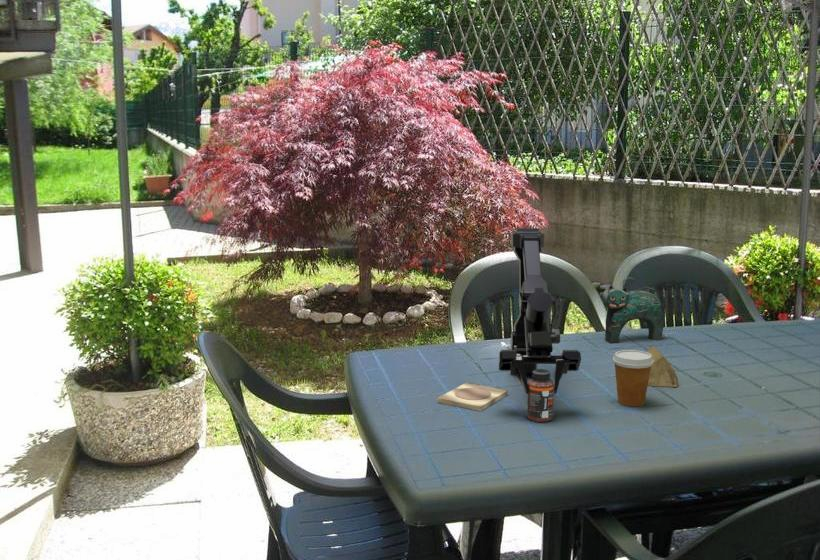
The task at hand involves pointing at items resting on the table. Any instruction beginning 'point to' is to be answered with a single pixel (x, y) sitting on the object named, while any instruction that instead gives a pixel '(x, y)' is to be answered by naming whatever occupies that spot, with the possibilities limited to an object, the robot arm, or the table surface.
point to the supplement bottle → (540, 396)
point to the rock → (661, 370)
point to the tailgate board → (472, 396)
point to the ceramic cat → (632, 311)
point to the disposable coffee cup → (632, 376)
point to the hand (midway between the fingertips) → (541, 393)
